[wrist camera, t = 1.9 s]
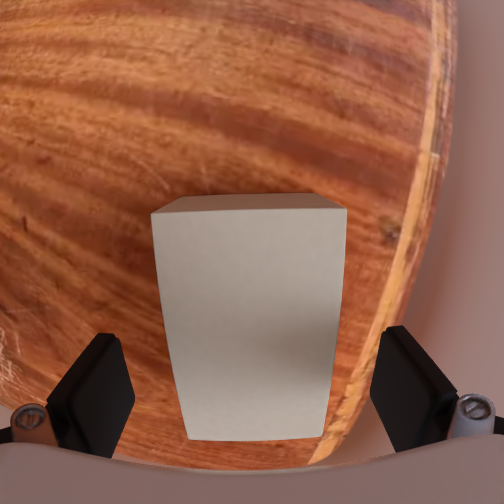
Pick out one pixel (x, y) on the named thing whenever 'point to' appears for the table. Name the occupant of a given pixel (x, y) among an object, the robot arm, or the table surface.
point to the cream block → (251, 310)
